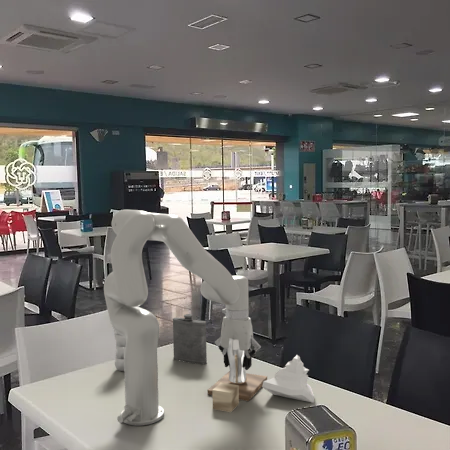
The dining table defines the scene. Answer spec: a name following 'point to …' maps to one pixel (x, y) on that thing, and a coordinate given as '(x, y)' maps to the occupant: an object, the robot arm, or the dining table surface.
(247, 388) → the serving board
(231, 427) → the dining table surface
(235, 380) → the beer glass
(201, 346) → the flask
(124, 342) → the plastic bottle
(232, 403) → the beech block
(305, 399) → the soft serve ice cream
